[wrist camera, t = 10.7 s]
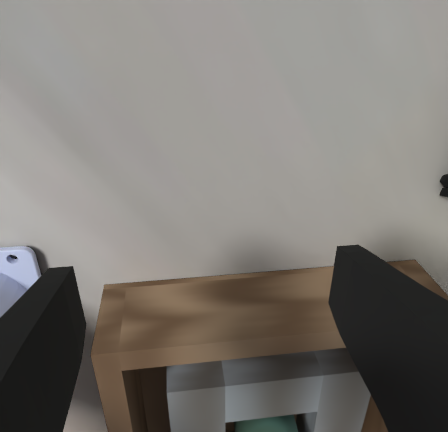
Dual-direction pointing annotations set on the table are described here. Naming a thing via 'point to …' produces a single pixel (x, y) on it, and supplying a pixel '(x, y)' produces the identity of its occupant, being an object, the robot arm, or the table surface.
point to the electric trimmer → (447, 182)
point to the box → (231, 354)
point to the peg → (267, 424)
